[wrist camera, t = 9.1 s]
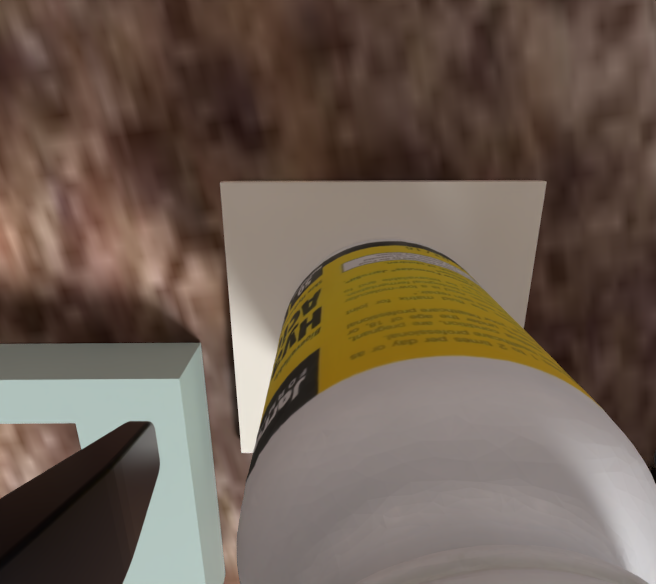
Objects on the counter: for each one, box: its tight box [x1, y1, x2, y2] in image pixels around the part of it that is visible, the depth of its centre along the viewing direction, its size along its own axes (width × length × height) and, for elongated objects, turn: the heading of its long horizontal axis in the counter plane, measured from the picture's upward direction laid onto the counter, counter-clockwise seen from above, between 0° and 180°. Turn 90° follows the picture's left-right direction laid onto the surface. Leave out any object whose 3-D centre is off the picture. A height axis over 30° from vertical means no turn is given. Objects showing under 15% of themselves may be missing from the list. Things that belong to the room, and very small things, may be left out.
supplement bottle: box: [237, 238, 656, 584], centre depth 8 cm, size 5×5×10 cm
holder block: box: [0, 343, 225, 584], centre depth 13 cm, size 12×9×2 cm
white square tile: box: [220, 180, 547, 453], centre depth 12 cm, size 8×8×1 cm
